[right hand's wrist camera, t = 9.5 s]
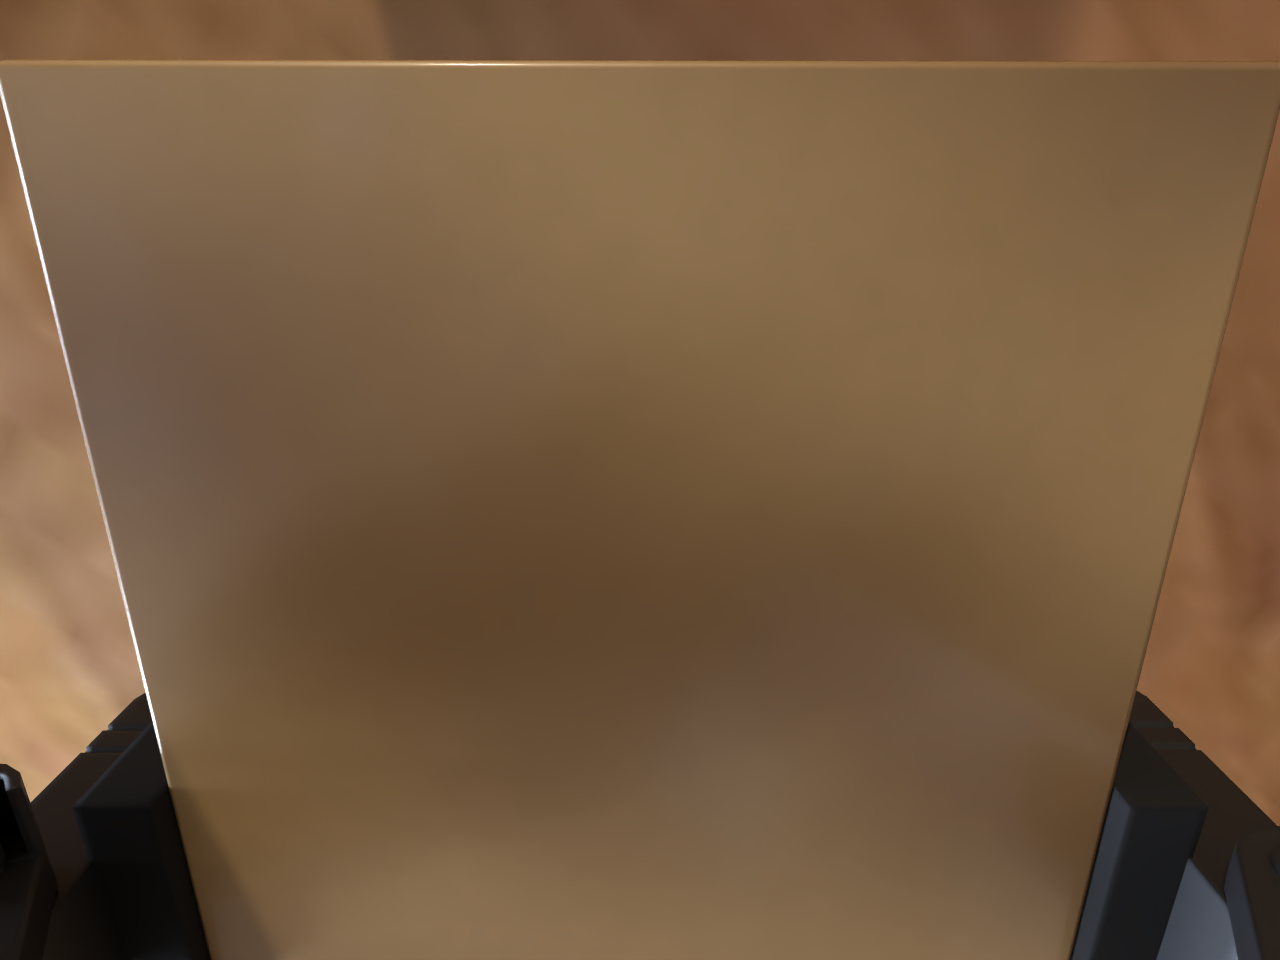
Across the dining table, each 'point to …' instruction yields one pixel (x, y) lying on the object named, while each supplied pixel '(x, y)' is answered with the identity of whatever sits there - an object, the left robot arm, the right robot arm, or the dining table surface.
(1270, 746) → the dining table surface
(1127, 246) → the long beam
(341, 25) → the dining table surface
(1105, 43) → the dining table surface
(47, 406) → the dining table surface
